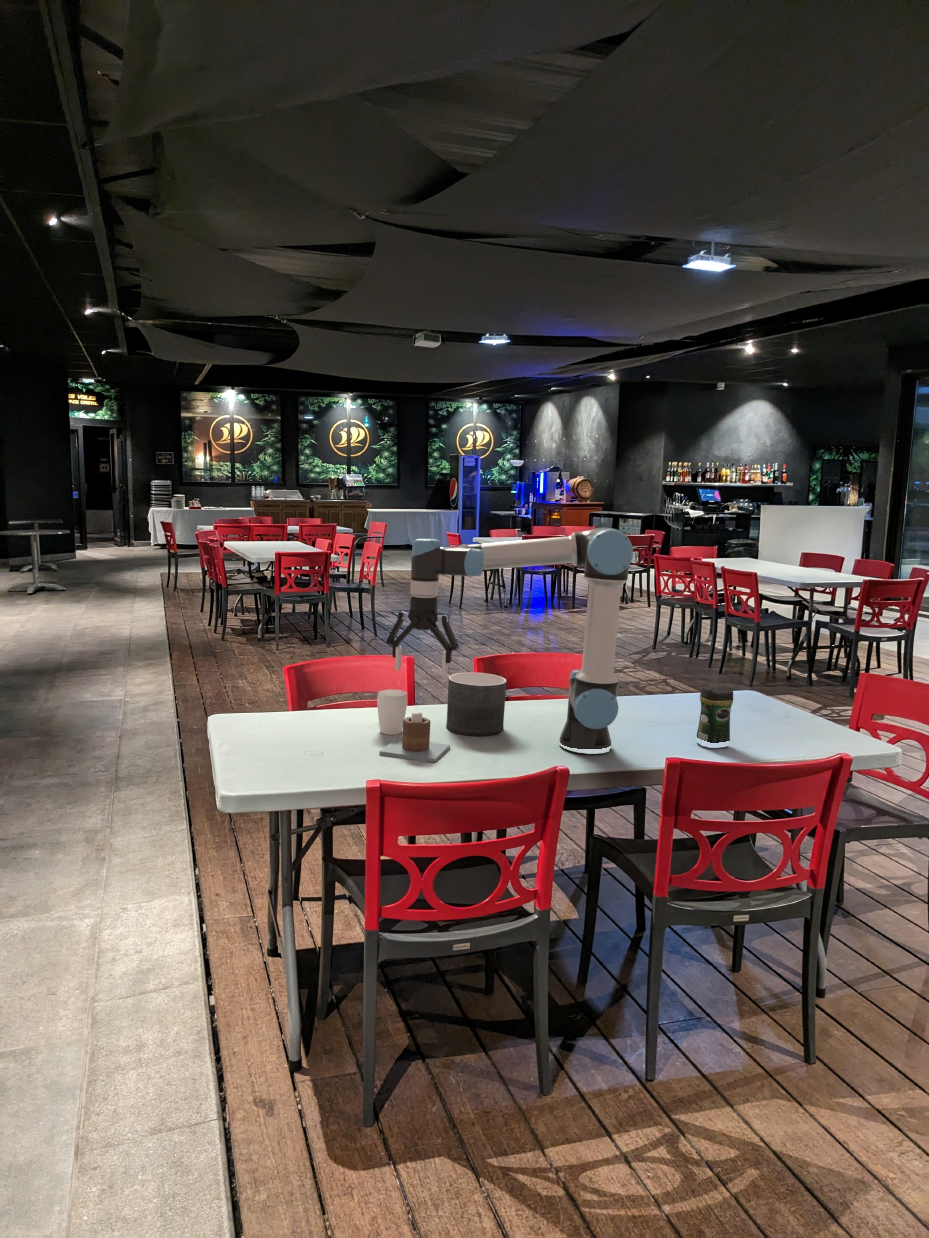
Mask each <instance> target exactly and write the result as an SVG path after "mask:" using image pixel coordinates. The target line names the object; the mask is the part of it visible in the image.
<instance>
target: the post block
mask: <svg viewBox="0 0 929 1238" xmlns="http://www.w3.org/2000/svg"><path fill="white" fill-rule="evenodd" d="M410 717H411V722H416V723H420V722H422V717H423V712H420V711H413V712H411V716H410ZM402 740H403V737H396V738H395V739H393V740H392V741H391V742H390V743H388V744H386V746H384V747H383V748H381V749H380V750H379V755H380V756H387V757H393V758H400V759H406V760H414V761H420V762H421V761H422V762H427V763H428V762H429V763H434V764H435V763H436V762H437V761H439V759H440V758H441V757H442V756H443V755H445V754H446V753H447V752H448V751H449V750H450V749H451V744H446V743H439V742H432V741H430V742H429V749H428V750H427V751H421V752H412V751H406V750H405V749H403V748H402Z"/></svg>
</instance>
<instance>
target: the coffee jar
mask: <svg viewBox="0 0 929 1238" xmlns="http://www.w3.org/2000/svg"><path fill="white" fill-rule="evenodd" d="M699 701H700V714H699V722H698V727H697V732H696V736H697V738H699V739H701V740H704V741H707V742H710V743H719V742H726V741H730V740H731V711H732V705H733V703H734V690H733V688H731V687H729V686H726V685H711V686H709V685H708V686H702V687H701V689H700V694H699ZM730 742H731V741H730Z"/></svg>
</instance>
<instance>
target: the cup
mask: <svg viewBox="0 0 929 1238" xmlns="http://www.w3.org/2000/svg"><path fill="white" fill-rule="evenodd" d="M376 705H377V706H376V707H377V717H378V723H379V724H378V725H379V732H380V733H381V734H384V735H387V736H389V735H391V736H392V735H393V736H396V735H400V734H403V720H404V719H405V718H406V713H407V708H408V692H407V691H404V690H401V689H383V690H379V691H377V700H376Z"/></svg>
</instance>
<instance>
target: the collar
mask: <svg viewBox="0 0 929 1238" xmlns="http://www.w3.org/2000/svg"><path fill="white" fill-rule="evenodd" d="M430 735H431V720H430V719H429V718H427V717H423V716H422V722H420V723H416V722H411V716H408V717H405V719H404V720H403V730H402V738H403V740H402V748H403V749H405V750H406V751H412V752H421V751H427V750H428V749H429V742H431V741H430V739H431V736H430Z"/></svg>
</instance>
